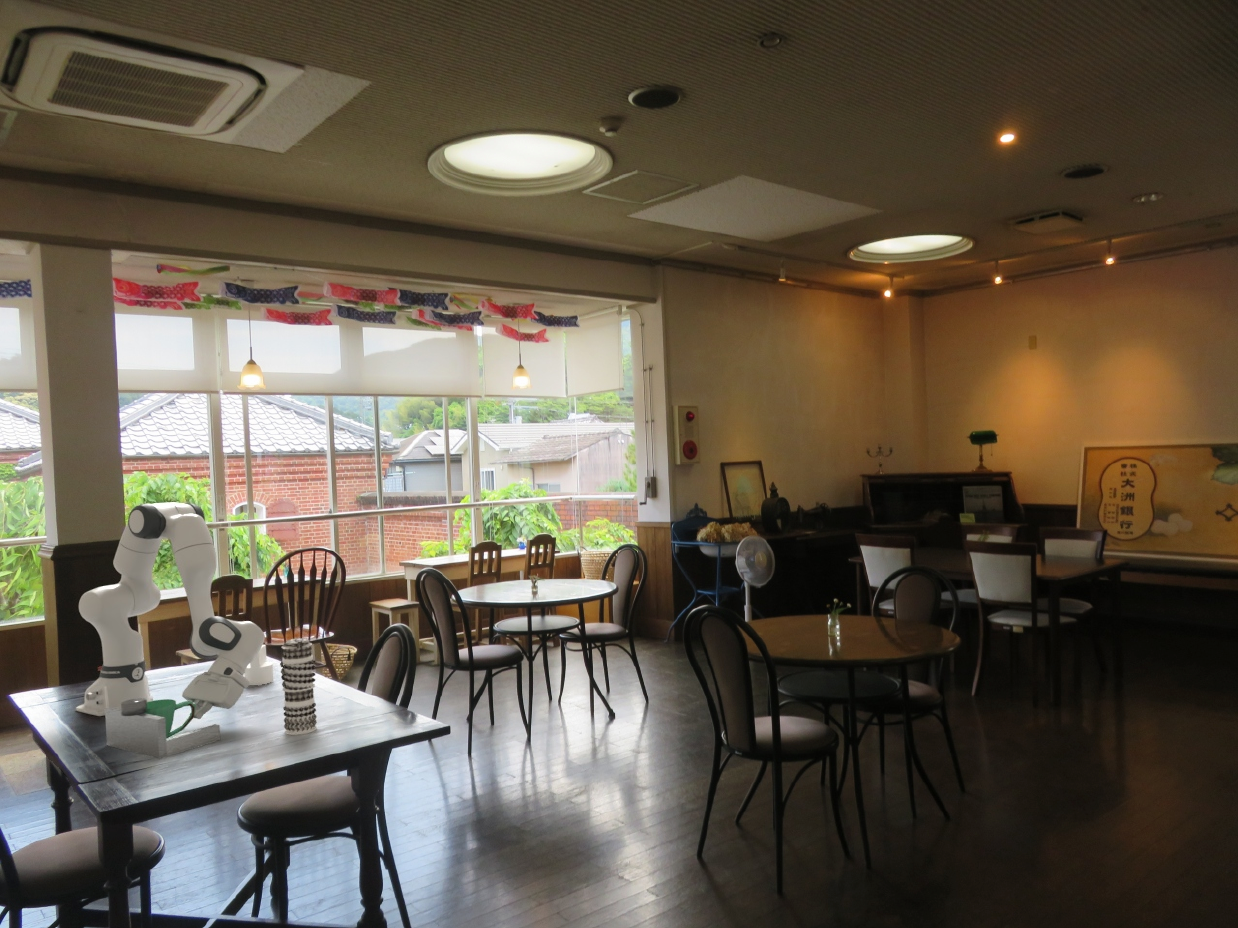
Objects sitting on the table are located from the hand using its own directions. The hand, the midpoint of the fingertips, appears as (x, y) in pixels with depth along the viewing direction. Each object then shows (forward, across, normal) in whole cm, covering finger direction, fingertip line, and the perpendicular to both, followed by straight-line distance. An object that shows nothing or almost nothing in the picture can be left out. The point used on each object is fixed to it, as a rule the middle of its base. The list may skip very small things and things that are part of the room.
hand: (194, 717), depth 251 cm
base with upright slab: (-29, -35, +36) cm, 58 cm away
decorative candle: (-7, +26, +14) cm, 30 cm away
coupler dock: (+10, 0, -4) cm, 11 cm away
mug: (+8, -2, -2) cm, 8 cm away
